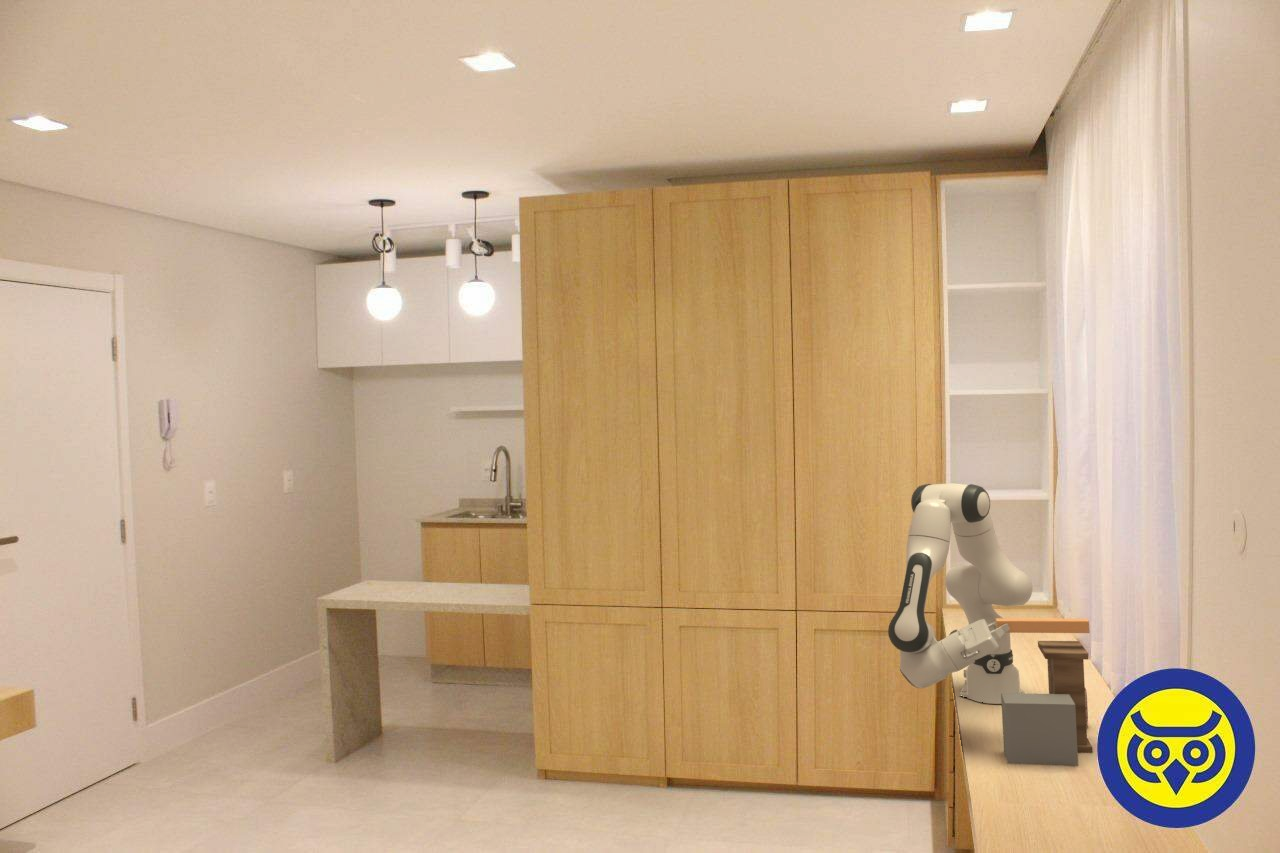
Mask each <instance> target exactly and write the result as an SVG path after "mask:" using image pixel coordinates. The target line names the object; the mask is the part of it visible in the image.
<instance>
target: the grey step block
mask: <svg viewBox="0 0 1280 853" xmlns="http://www.w3.org/2000/svg"><path fill="white" fill-rule="evenodd" d="M1001 702H1002V704H1001V718H1002V719H1001V720H1002V721H1001V722H1002V723H1001V724H1002V741H1003V742H1002V743H1003V753H1004V757H1005V759H1006V763H1007V764H1008V765H1009V764H1010V765H1037V766H1041V765H1043V766H1065V767H1066V766H1067V767H1070V766H1073V767H1079V760H1078V759H1079V758H1078V753H1079V752H1077V731H1076V709H1075V703H1074V702H1073V700H1072V698H1071V696H1070V695H1069V694H1049V693H1026V692H1025V693H1001Z"/></svg>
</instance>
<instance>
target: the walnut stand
mask: <svg viewBox="0 0 1280 853" xmlns="http://www.w3.org/2000/svg"><path fill="white" fill-rule="evenodd" d="M1037 648H1038V649H1039V650H1040V652H1041V654H1042V656H1043V657H1044V659H1045V660H1047V676H1048V677H1047V680H1048V694H1069V695H1070V696H1071V698H1072V700H1073V702H1074V703H1075V709H1076V731H1077V753H1080V754H1081V752H1082V753H1083V754H1085V753H1086V754H1089V753H1088V752H1090V754H1092V753H1091V752H1094V750H1093V745H1092V744H1091V742H1090V740H1089V738H1088V734H1087V733H1088V732H1087V727H1088V726H1086V705H1085V688H1086V687H1085V686H1086V685H1085V667H1084V666H1085V665H1084V660H1089V652H1088V651H1087V650H1086V649H1085V647H1084V646H1083V645H1082V643H1081V642H1080V641H1079V640H1037Z"/></svg>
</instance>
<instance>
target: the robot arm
mask: <svg viewBox="0 0 1280 853" xmlns="http://www.w3.org/2000/svg"><path fill="white" fill-rule="evenodd" d="M910 498H911V500H910V506H911V510H912V512H913V515H912V518H911V521H910V525H909V529H908V534H907V535H908V536H907V543H906V563H905V564H906V565H905V566H906V568H905V576H904V582H903V586H902V592H901V597H900V603H899V606H898V609H897V611H896V613H895V614H894V616H893V617H892V619H891V621H890V622H889V625H888V629H887V630H888V631H887V632H888V638H889V641H890V642H891V644H892V645H893V646H894V647H895V649H897V650H899V656H900V659H899V660H900V661H899V662H900V663H899V666H898V667H899V670H900V672H901V674H902V676H903V677H904V679H905V680H906V681H907V682H908V683H909V684H910V685H911V686H913V687H915V688H916V689H925V688H929V687H931V686H933V685H935V684H937V683H939V682H942V681H943V680H945V679H946V678H947V677H948V676H950V674H953V673H956V672H960V671H961V670H963V677H964V679H966V680H964V683H963V685H962V687H961V689H960V690H961V691H960V692H959V696H960V695H962V696H964V697H967V698H966V699H970V700H973V702H974V701H975V702H979V703H982V702H983V703H984V704H989V705H990V704H991V705H993V704H995V705H1002V702H1001V693H1026V692H1025V691H1024V690H1023V689H1022V688H1021V682H1020V670H1019V669H1018V668H1017V667H1016V666H1015V665H1014V654H1013V650H1012V646H1011V633H1006V632H1007V631H1009V630H1010V627H1009V626H1008V624H1007V623H1004V624H1002V625H1000V627H999V628H997V629H996V618H1003V617H1002V616H1001V615H999V613H997V611H996V610H995V609H994V607H993V606H1002V607H1018V606H1024V605H1025V604H1027V603H1028V601H1029V600H1030V599H1031V597H1032V594H1033V582H1032V580H1031V578H1030V577H1029V575H1028V574H1027V573H1026V572H1024V571H1023V570H1021V569H1019V568H1018V567H1017V566H1015V564H1014V563H1013V562H1012V561H1010V560H1009V558H1008V557H1007V556H1006V555H1005V553H1004V552H1003V550H1002V549H1001V546H1000V544H999V541H998V538H997V535H996V532H995V528H994V524H993V520H992V516H991V514H990V510H991V499H990V498H991V497H990V496H989V493H988V492H987V491H986V489H985V488H984V487H982V486H980V485H976V484H972V483H970V484H964V483H956V482H955V483H953V482H949V483H936V484H933V483H925V484H921V485H919V486H917V487H916V489H914V491H913V493H912V495H911V497H910ZM951 530H953V534H954V538H955V541H956V546H957V549H958V552H959V555H960V556H961V558H962V559H964V560H965V561H967V562H968V563H969V564H962V565H954V566H952V567H950V569H949V570H948V571H947V574H946V577H945V588H946V590H947V592H948V594H949V595H950V596H951V597H952V598H953V599H954V600H956V602H957V603H958V604H959V605H960V607H961V609H962V610H963V612H964V614H965V616H966V619H967V622H968V624H967V625H965V626H963V627H961V628H960V629H957V628H955V629H954V630H951V632H950V633H949V634H948V635H947V636H946V637H944V638H942V639H940V640H939V641H938V639H937V637H936V633H935V630H934V628H933V626H932V624H930V622H929V621H927V620H926V617H925V610H926V604H927V598H928V594H929V587H930V583H931V580H932V579H933V577H934V576H935V575H936V574H938V573H939V571H941V570H942V569H943V568H944V566H945V564H946V561H947V559H948V554H949V551H950V544H951V534H952V531H951ZM965 668H966V669H965ZM964 697H963V698H964Z"/></svg>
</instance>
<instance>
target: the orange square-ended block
mask: <svg viewBox="0 0 1280 853" xmlns="http://www.w3.org/2000/svg"><path fill="white" fill-rule="evenodd" d="M1004 623H1007V624H1008V626H1009V627H1010V630H1009V631H1007V632H1006V633H1010V634H1012V633H1013V634H1014V633H1015V634H1016V633H1017V634H1020V633H1021V634H1031V633H1032V634H1037V633H1038V634H1090V632H1091V630H1090V621H1089V620H1088V618H1048V617H1047V618H1044V617H1043V618H1041V617H1040V618H1036V617H1035V618H1027V617H1026V618H1022V617H1021V618H1016V617H1015V618H1014V617H1013V618H1011V617H1010V618H1006V617H1005V618H1004V617H1002V618H996V629H997V628H999V627H1000V625H1002V624H1004Z"/></svg>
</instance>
